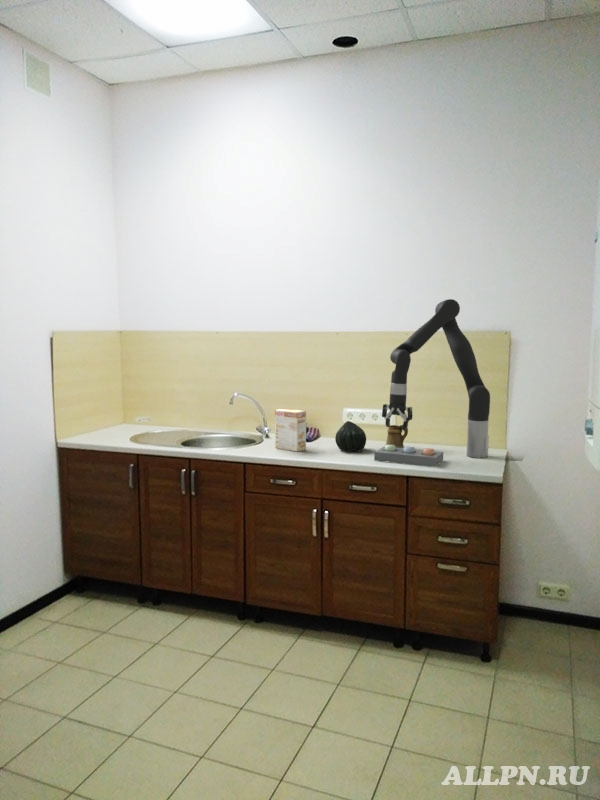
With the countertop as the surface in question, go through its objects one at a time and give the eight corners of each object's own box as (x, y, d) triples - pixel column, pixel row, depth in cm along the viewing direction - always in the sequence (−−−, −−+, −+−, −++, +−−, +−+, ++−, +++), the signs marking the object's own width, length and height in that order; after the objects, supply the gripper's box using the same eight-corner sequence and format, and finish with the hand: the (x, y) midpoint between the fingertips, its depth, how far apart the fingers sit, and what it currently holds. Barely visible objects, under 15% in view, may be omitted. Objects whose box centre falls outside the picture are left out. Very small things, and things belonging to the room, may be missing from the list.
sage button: (396, 452, 284) (396, 445, 283) (393, 454, 280) (393, 447, 279) (386, 451, 286) (386, 444, 286) (383, 453, 282) (383, 446, 281)
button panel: (443, 460, 279) (443, 451, 279) (435, 466, 267) (435, 457, 266) (384, 454, 292) (384, 446, 291) (374, 460, 279) (374, 451, 279)
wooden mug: (409, 451, 298) (409, 415, 296) (382, 449, 304) (383, 413, 302) (414, 448, 306) (415, 412, 303) (388, 445, 312) (389, 410, 310)
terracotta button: (435, 455, 276) (435, 448, 275) (432, 457, 272) (432, 450, 271) (424, 454, 278) (424, 447, 278) (421, 456, 274) (421, 449, 273)
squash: (364, 443, 290) (365, 417, 298) (333, 444, 292) (334, 417, 301) (366, 458, 301) (367, 432, 310) (336, 458, 304) (337, 432, 312)
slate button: (415, 453, 280) (415, 447, 279) (412, 456, 276) (412, 449, 275) (405, 452, 282) (405, 446, 282) (402, 454, 278) (402, 448, 277)
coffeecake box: (306, 449, 302) (306, 410, 300) (296, 452, 297) (296, 412, 295) (284, 445, 312) (284, 407, 310) (274, 448, 307) (274, 409, 305)
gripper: (416, 394, 280) (413, 429, 282) (388, 391, 288) (386, 425, 290) (409, 395, 274) (406, 431, 276) (380, 392, 282) (378, 427, 284)
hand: (396, 428), depth 283 cm, fingers open, 8 cm apart
